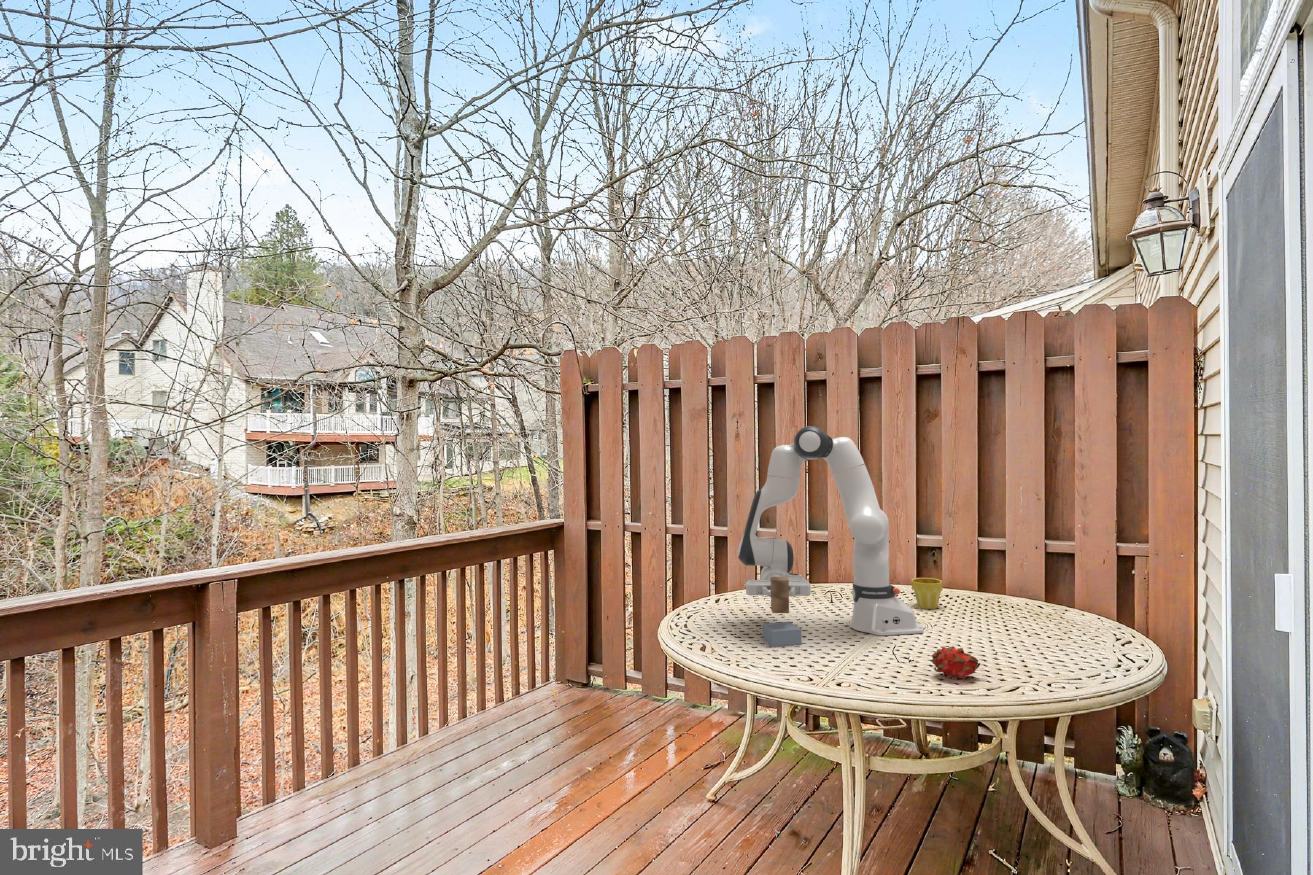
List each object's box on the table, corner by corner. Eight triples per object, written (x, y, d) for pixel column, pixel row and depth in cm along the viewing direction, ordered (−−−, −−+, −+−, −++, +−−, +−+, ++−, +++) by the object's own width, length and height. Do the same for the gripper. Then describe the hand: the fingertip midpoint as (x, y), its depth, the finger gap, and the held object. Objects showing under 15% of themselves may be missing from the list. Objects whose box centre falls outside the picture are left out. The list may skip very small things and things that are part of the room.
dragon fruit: (927, 681, 166) (976, 689, 164) (937, 671, 159) (988, 679, 157) (925, 648, 171) (973, 656, 169) (935, 637, 164) (984, 645, 162)
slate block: (790, 637, 202) (789, 621, 202) (801, 645, 193) (801, 629, 193) (762, 639, 201) (762, 623, 201) (773, 648, 192) (772, 631, 192)
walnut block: (787, 608, 200) (786, 576, 200) (789, 613, 195) (788, 580, 195) (771, 608, 200) (770, 576, 200) (772, 612, 195) (771, 580, 195)
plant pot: (916, 610, 230) (915, 583, 230) (909, 603, 240) (908, 577, 240) (946, 610, 228) (945, 583, 228) (938, 603, 238) (937, 577, 239)
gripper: (743, 574, 211) (745, 583, 197) (806, 574, 209) (813, 583, 196) (743, 593, 211) (745, 603, 197) (807, 593, 209) (813, 604, 196)
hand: (779, 593), depth 196 cm, fingers closed on walnut block, 5 cm apart
